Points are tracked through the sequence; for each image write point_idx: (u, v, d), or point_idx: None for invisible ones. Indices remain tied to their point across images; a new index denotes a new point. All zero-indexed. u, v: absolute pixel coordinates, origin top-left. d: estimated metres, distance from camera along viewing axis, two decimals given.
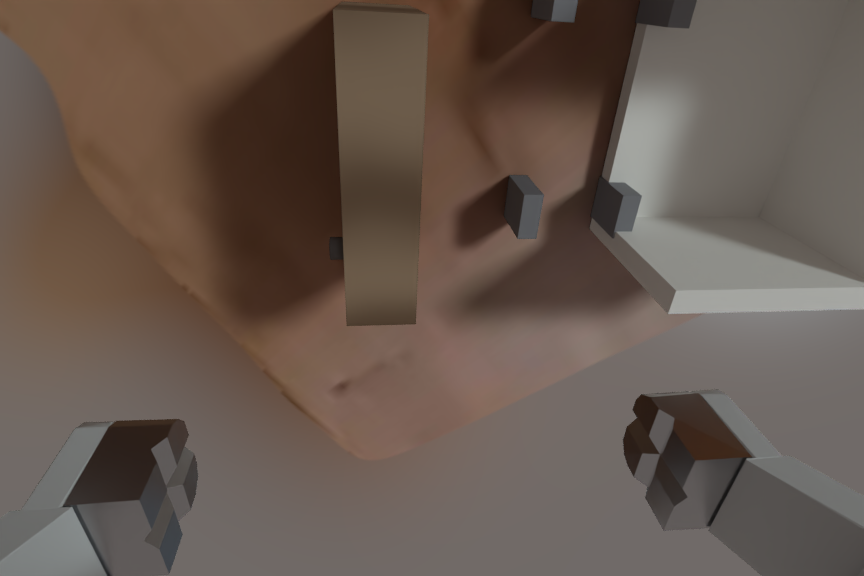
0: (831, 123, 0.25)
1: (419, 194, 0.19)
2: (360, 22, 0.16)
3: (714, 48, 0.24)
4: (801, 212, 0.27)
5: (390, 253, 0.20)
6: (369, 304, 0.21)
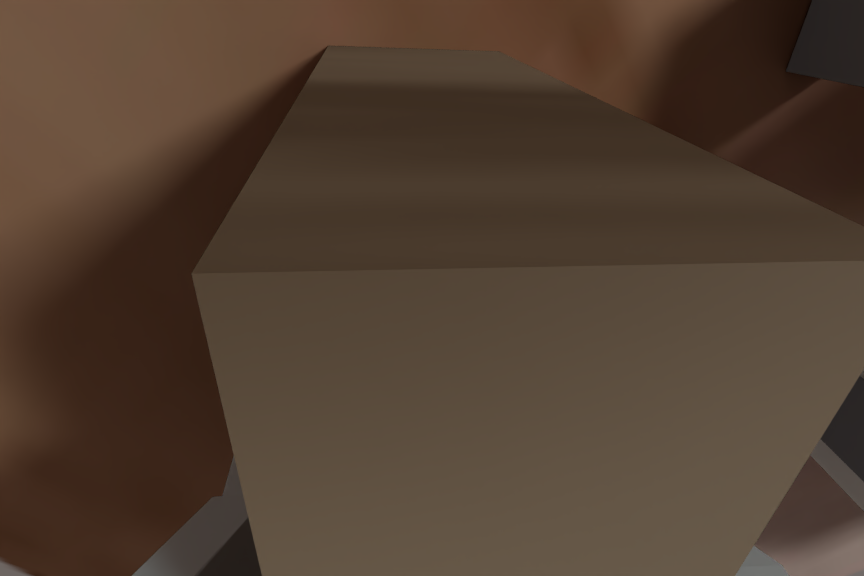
0: None
1: None
2: (422, 337, 0.02)
3: None
4: None
5: None
6: None
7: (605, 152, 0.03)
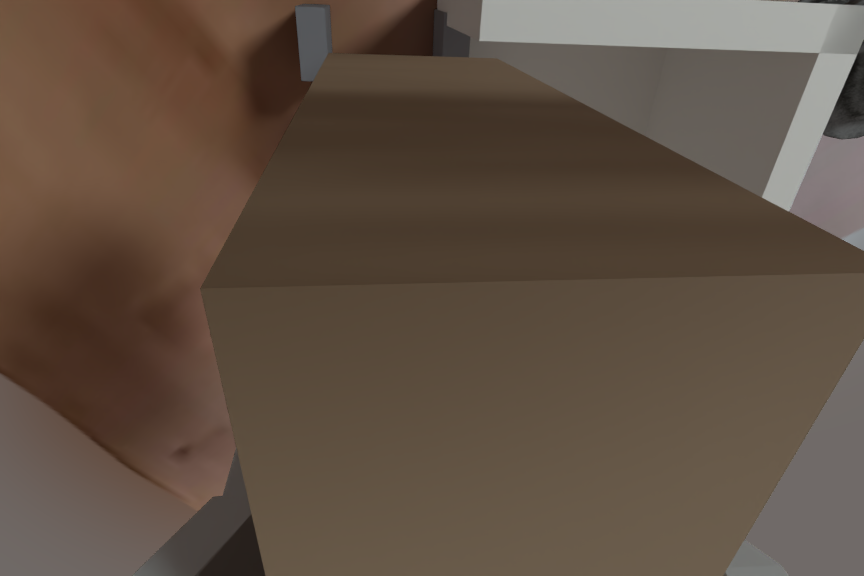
0: None
1: None
2: (417, 346, 0.02)
3: None
4: None
5: None
6: None
7: (597, 164, 0.04)
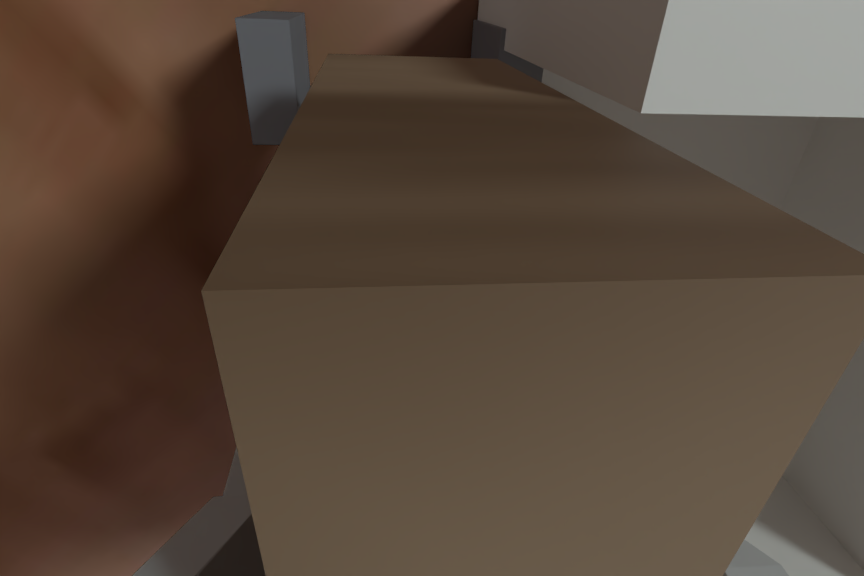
0: None
1: None
2: (418, 348, 0.02)
3: None
4: None
5: None
6: None
7: (596, 166, 0.04)
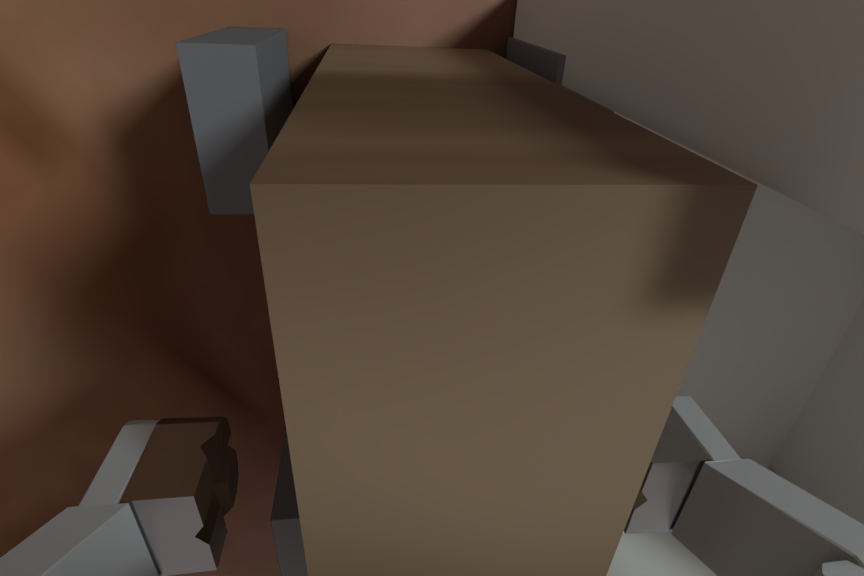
0: None
1: None
2: (403, 235, 0.03)
3: None
4: (856, 509, 0.13)
5: None
6: None
7: (552, 123, 0.04)
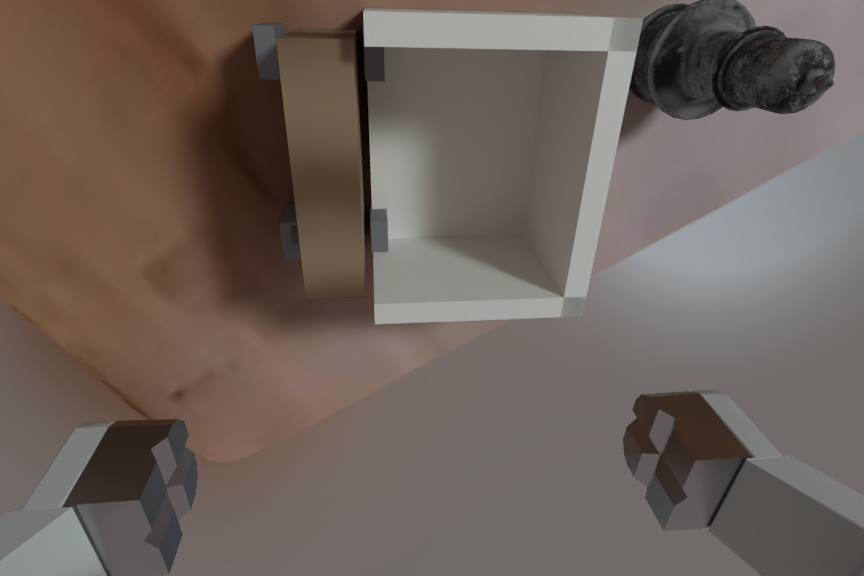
0: (544, 155, 0.28)
1: (358, 184, 0.23)
2: (297, 46, 0.20)
3: (434, 93, 0.28)
4: (537, 232, 0.30)
5: (337, 235, 0.24)
6: (323, 279, 0.25)
7: (335, 36, 0.21)
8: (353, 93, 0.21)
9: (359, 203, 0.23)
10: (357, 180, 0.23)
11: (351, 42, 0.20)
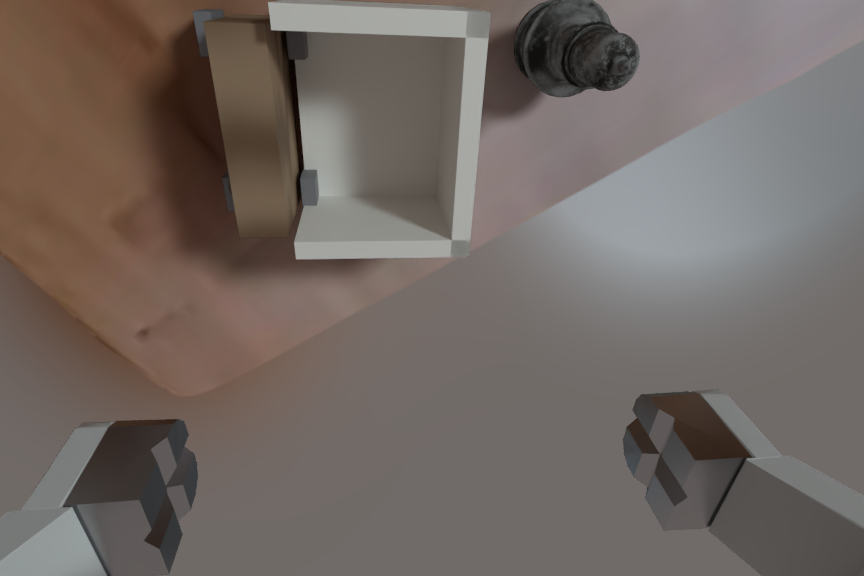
0: (443, 124, 0.34)
1: (276, 142, 0.29)
2: (221, 29, 0.26)
3: (352, 71, 0.34)
4: (441, 190, 0.36)
5: (262, 184, 0.30)
6: (253, 221, 0.31)
7: (254, 21, 0.27)
8: (268, 67, 0.27)
9: (278, 157, 0.29)
10: (275, 138, 0.29)
11: (263, 26, 0.26)
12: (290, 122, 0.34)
